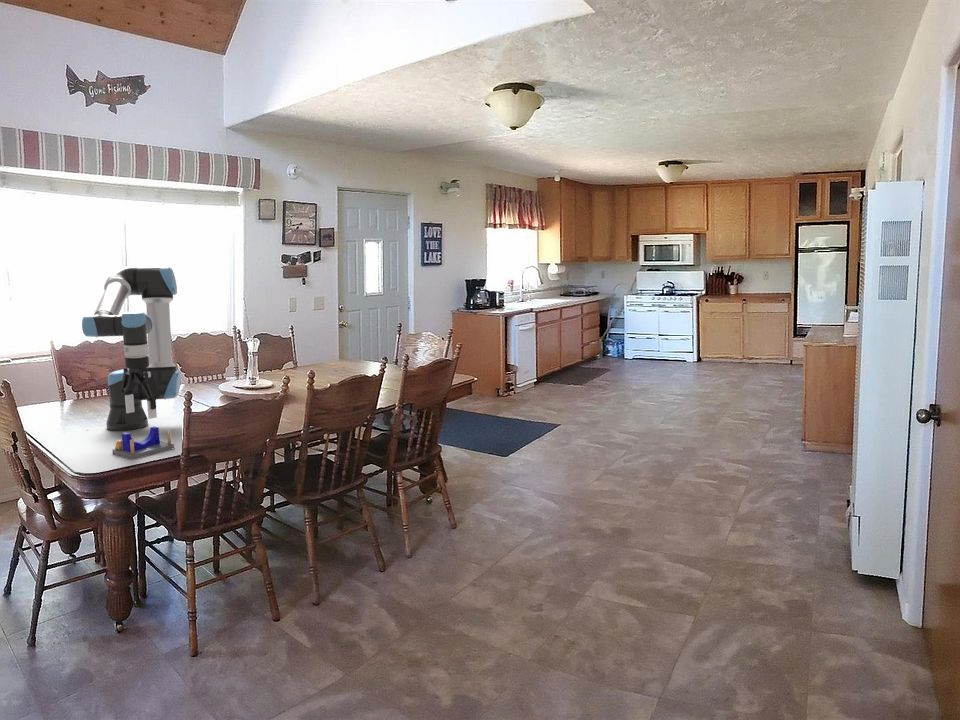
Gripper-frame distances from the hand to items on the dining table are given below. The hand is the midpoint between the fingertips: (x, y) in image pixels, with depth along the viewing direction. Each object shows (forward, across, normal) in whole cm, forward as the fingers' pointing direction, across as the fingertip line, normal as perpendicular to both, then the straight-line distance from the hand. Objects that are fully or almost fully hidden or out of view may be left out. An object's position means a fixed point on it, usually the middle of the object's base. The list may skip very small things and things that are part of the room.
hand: (141, 415), depth 253 cm
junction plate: (+13, 0, 0) cm, 13 cm away
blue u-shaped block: (+12, 0, -1) cm, 12 cm away
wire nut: (+11, -4, -7) cm, 14 cm away
